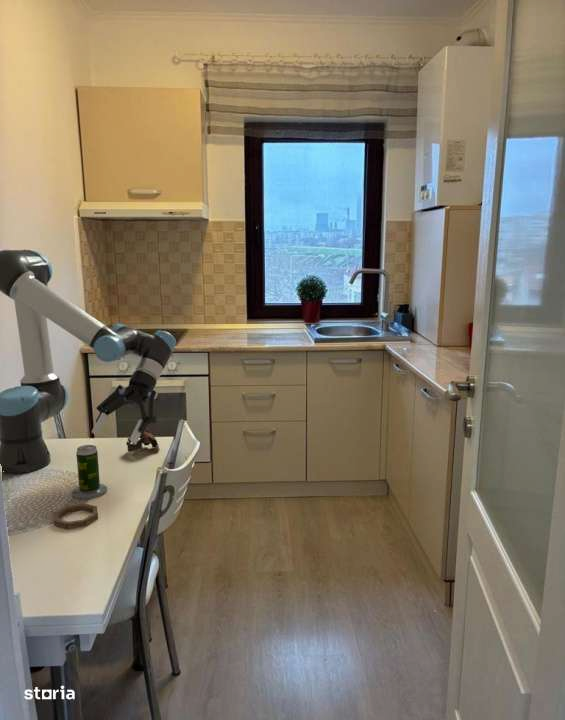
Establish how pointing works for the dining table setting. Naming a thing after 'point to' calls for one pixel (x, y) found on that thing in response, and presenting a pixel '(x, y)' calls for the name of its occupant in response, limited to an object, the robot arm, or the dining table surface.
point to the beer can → (88, 469)
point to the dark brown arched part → (145, 439)
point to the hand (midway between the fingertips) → (113, 438)
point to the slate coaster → (100, 492)
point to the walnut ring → (77, 523)
